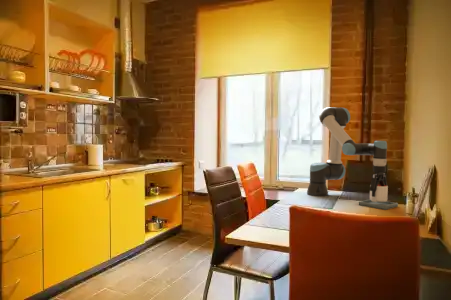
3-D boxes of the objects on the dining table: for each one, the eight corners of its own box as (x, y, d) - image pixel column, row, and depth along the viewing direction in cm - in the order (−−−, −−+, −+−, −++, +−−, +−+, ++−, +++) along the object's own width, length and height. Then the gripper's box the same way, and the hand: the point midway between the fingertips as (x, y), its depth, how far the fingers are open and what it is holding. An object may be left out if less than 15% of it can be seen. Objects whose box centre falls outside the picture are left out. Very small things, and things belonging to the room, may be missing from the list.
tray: (358, 205, 208) (358, 201, 208) (372, 202, 218) (372, 198, 218) (384, 210, 195) (385, 206, 195) (397, 206, 205) (398, 203, 205)
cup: (389, 203, 200) (389, 186, 200) (371, 202, 202) (372, 186, 202) (384, 200, 210) (385, 184, 210) (368, 199, 212) (368, 183, 212)
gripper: (376, 166, 195) (375, 203, 196) (394, 165, 209) (392, 199, 210) (364, 165, 201) (363, 201, 202) (382, 164, 215) (381, 197, 216)
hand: (378, 200), depth 206 cm, fingers closed on cup, 10 cm apart
